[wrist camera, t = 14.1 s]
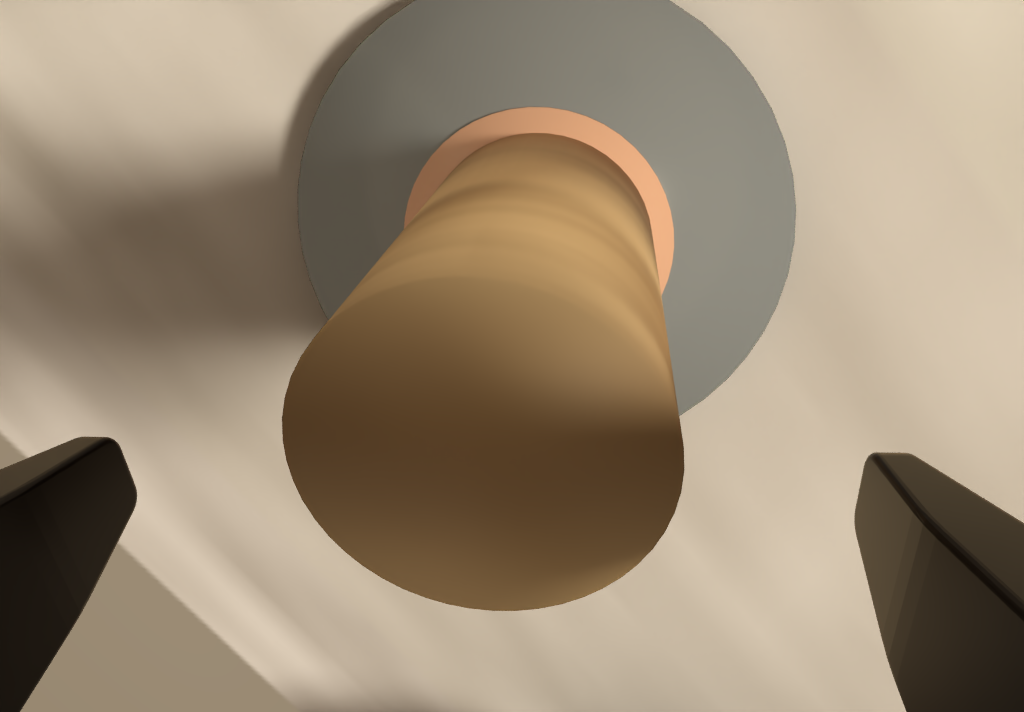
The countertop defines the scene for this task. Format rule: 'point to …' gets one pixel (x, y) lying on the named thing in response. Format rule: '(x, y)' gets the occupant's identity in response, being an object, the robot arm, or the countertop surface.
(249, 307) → the countertop surface
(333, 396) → the oak canister
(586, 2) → the coaster
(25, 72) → the countertop surface
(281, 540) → the countertop surface
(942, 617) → the robot arm
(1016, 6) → the countertop surface
